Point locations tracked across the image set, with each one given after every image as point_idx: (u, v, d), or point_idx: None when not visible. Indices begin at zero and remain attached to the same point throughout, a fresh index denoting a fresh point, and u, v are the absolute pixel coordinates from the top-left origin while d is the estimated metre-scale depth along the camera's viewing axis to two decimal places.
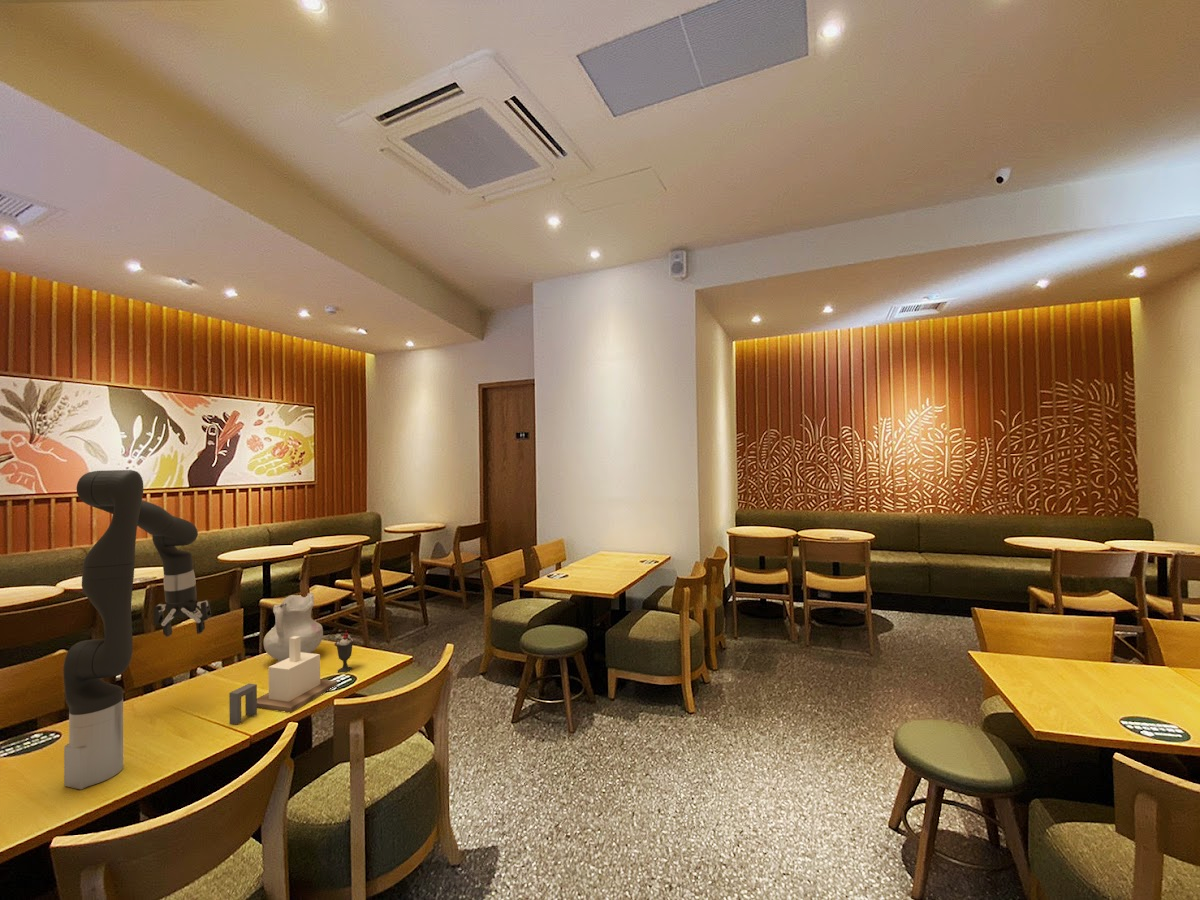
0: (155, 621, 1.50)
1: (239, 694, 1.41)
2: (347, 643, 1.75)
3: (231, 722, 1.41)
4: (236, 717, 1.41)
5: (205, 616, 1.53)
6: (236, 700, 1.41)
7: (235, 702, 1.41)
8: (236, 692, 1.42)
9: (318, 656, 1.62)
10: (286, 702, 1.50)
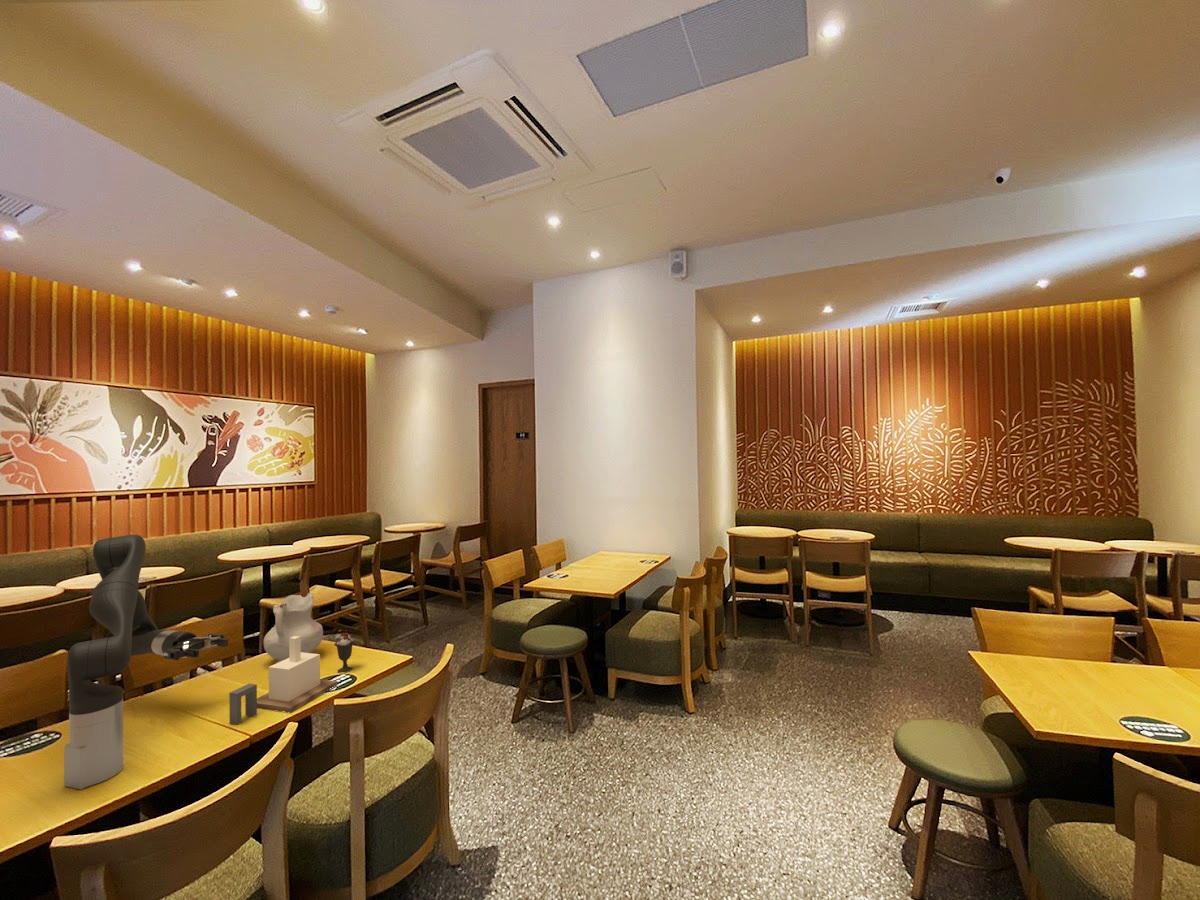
0: (175, 651, 1.42)
1: (239, 694, 1.41)
2: (347, 643, 1.75)
3: (231, 722, 1.41)
4: (236, 717, 1.41)
5: (221, 634, 1.55)
6: (236, 700, 1.41)
7: (235, 702, 1.41)
8: (236, 692, 1.42)
9: (318, 656, 1.62)
10: (286, 702, 1.50)
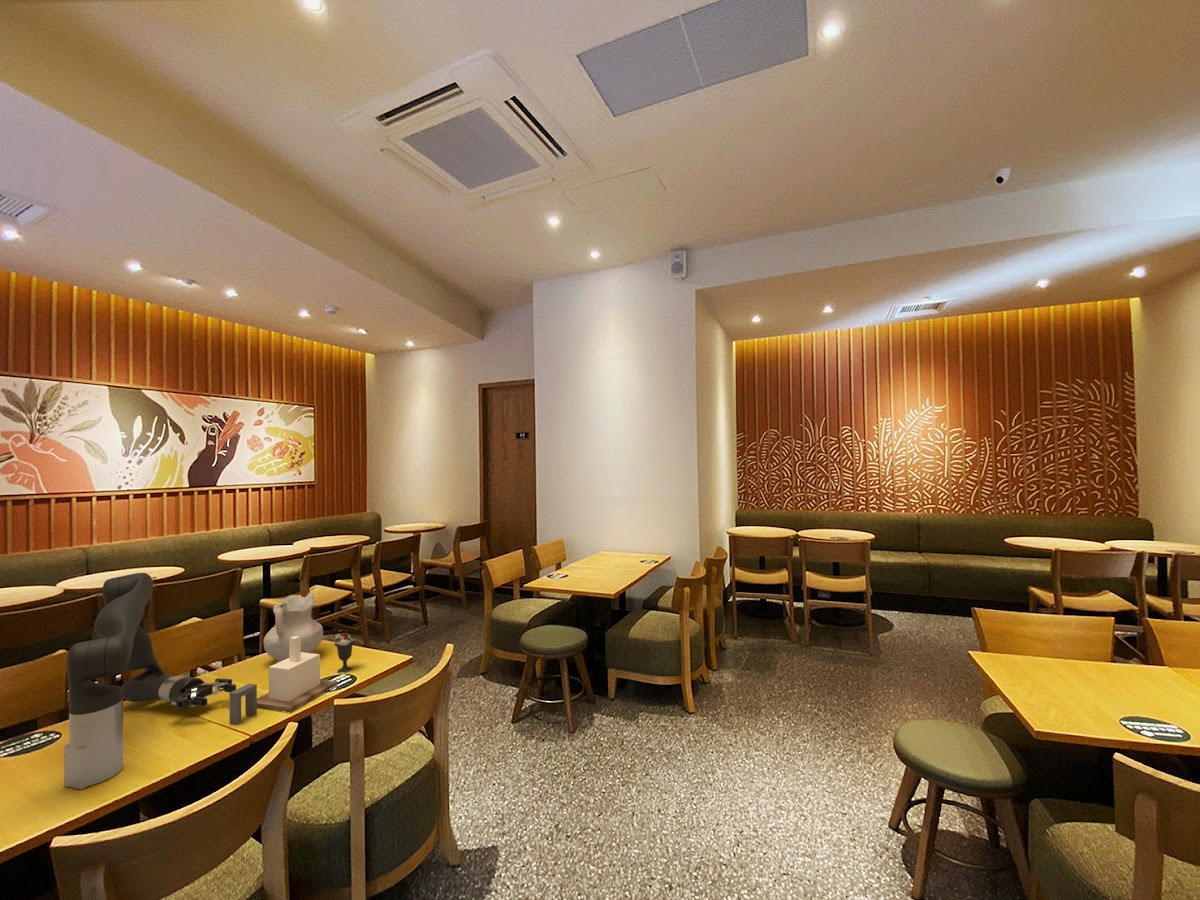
0: (183, 700, 1.41)
1: (239, 694, 1.41)
2: (347, 643, 1.75)
3: (231, 722, 1.41)
4: (236, 717, 1.41)
5: (228, 679, 1.54)
6: (236, 700, 1.41)
7: (235, 702, 1.41)
8: (236, 692, 1.42)
9: (318, 656, 1.62)
10: (286, 702, 1.50)
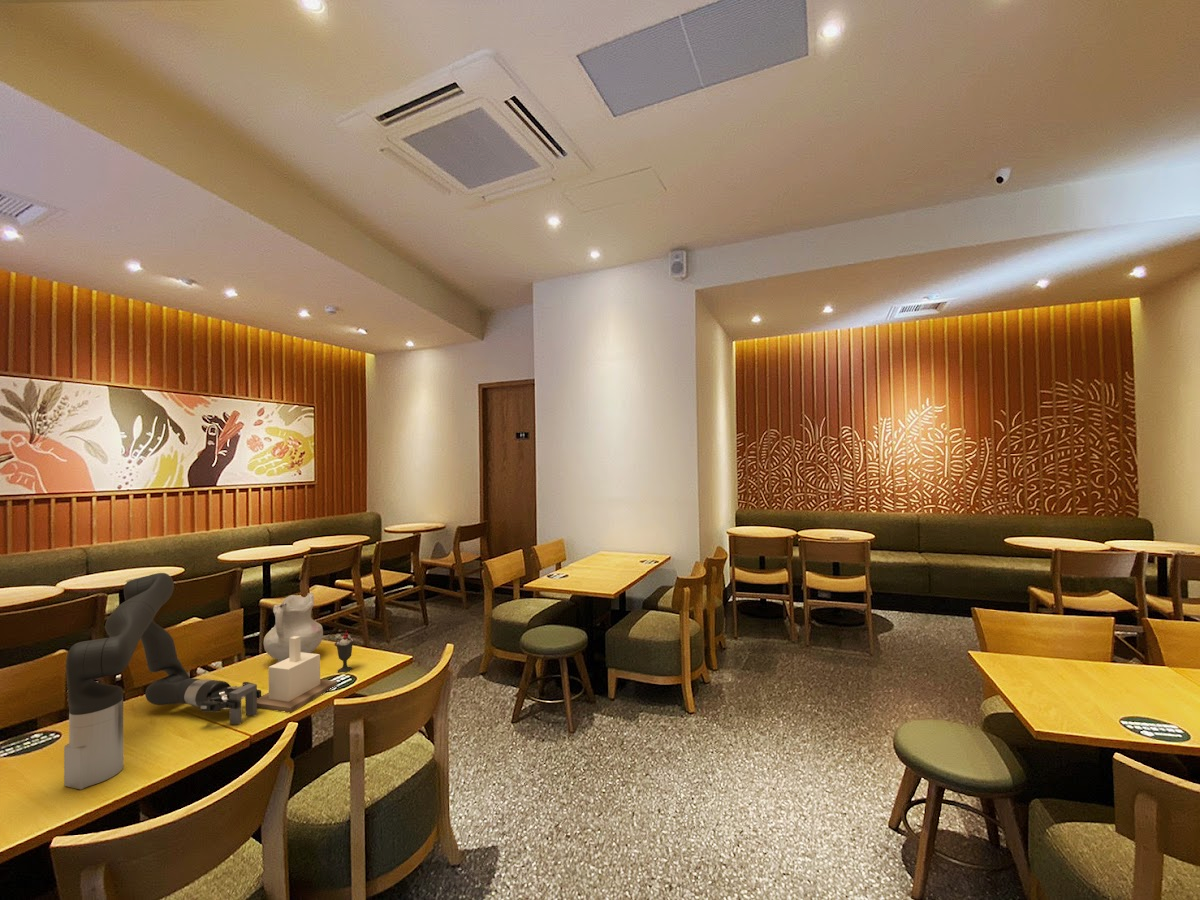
0: (215, 702, 1.39)
1: (239, 694, 1.41)
2: (347, 643, 1.75)
3: (232, 722, 1.41)
4: (236, 717, 1.41)
5: None
6: None
7: None
8: (236, 692, 1.41)
9: (318, 656, 1.62)
10: (286, 702, 1.50)
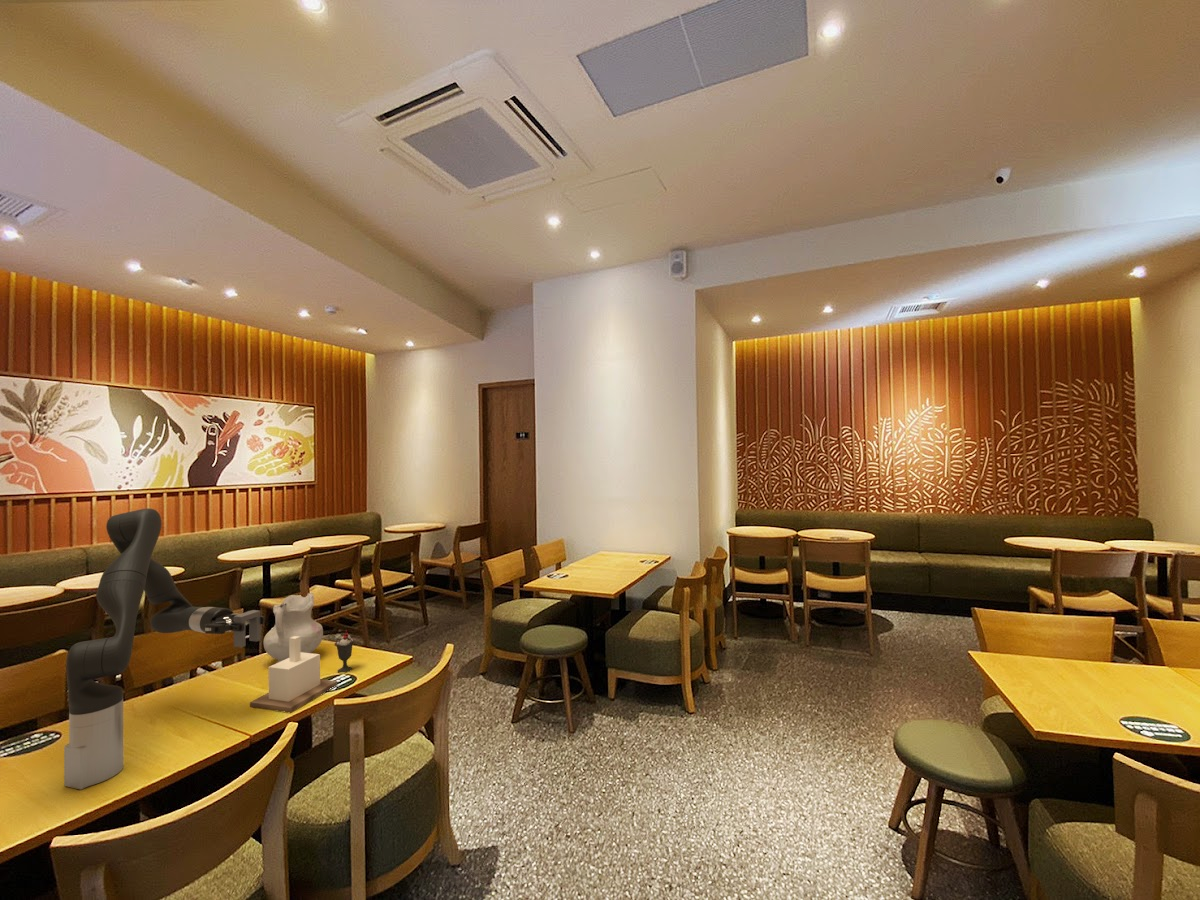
0: (220, 625, 1.41)
1: (243, 617, 1.43)
2: (347, 643, 1.75)
3: (236, 644, 1.43)
4: (240, 640, 1.42)
5: None
6: None
7: None
8: (240, 616, 1.43)
9: (318, 656, 1.62)
10: (286, 702, 1.50)
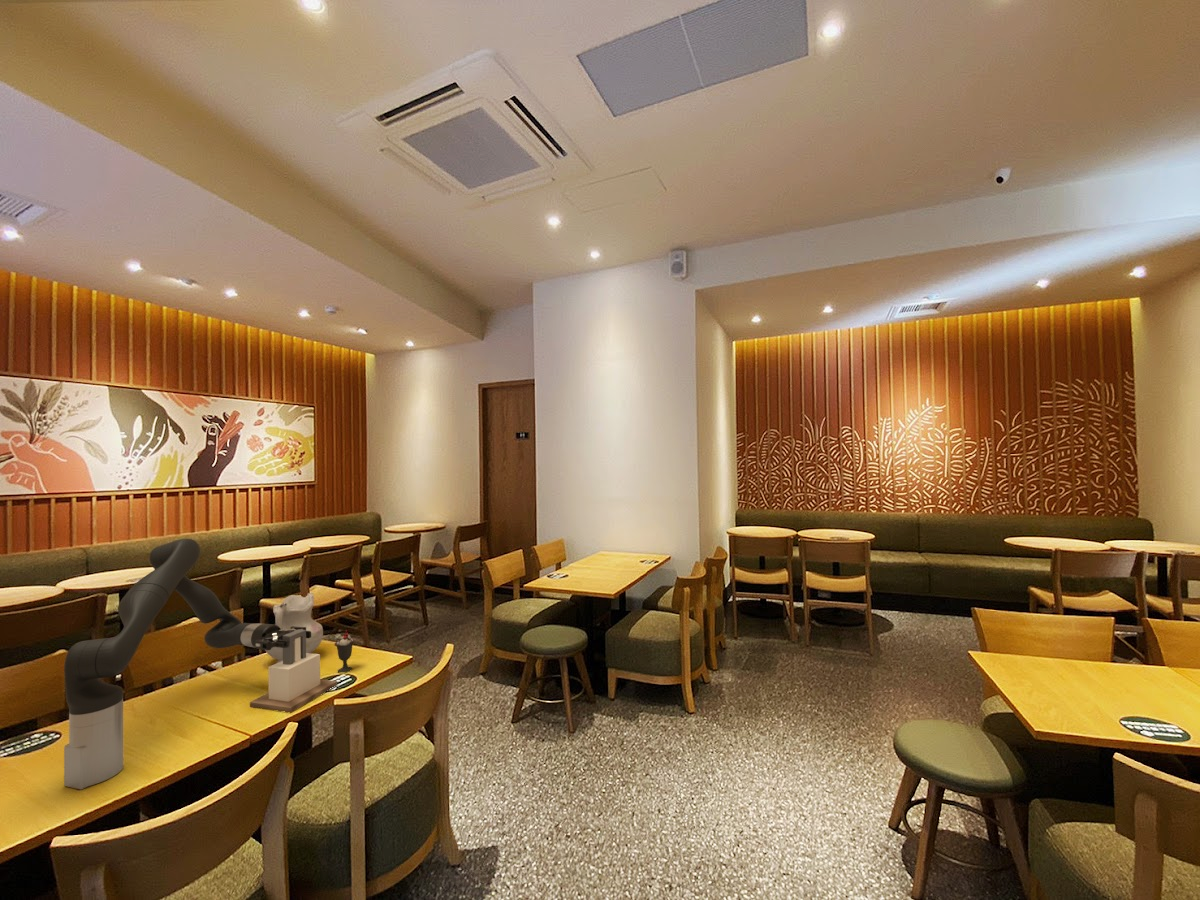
0: (266, 642, 1.52)
1: (291, 637, 1.55)
2: (347, 643, 1.75)
3: (285, 662, 1.55)
4: (289, 658, 1.54)
5: (302, 627, 1.65)
6: (289, 642, 1.55)
7: None
8: (288, 635, 1.55)
9: (318, 656, 1.62)
10: (286, 702, 1.50)
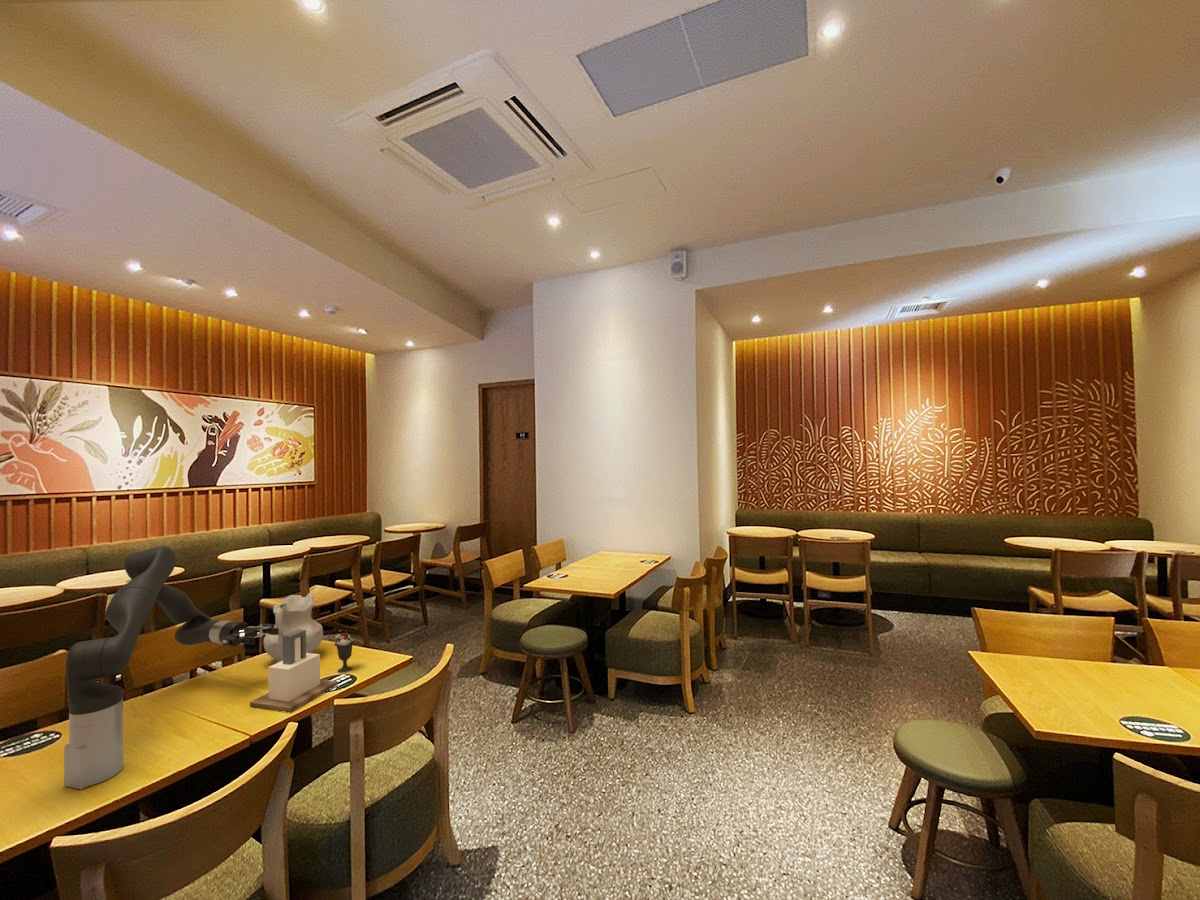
0: (233, 638, 1.56)
1: (291, 637, 1.55)
2: (347, 643, 1.75)
3: (285, 662, 1.55)
4: (289, 658, 1.54)
5: (271, 624, 1.69)
6: (289, 642, 1.55)
7: (288, 644, 1.55)
8: (288, 635, 1.55)
9: (318, 656, 1.62)
10: (286, 702, 1.50)
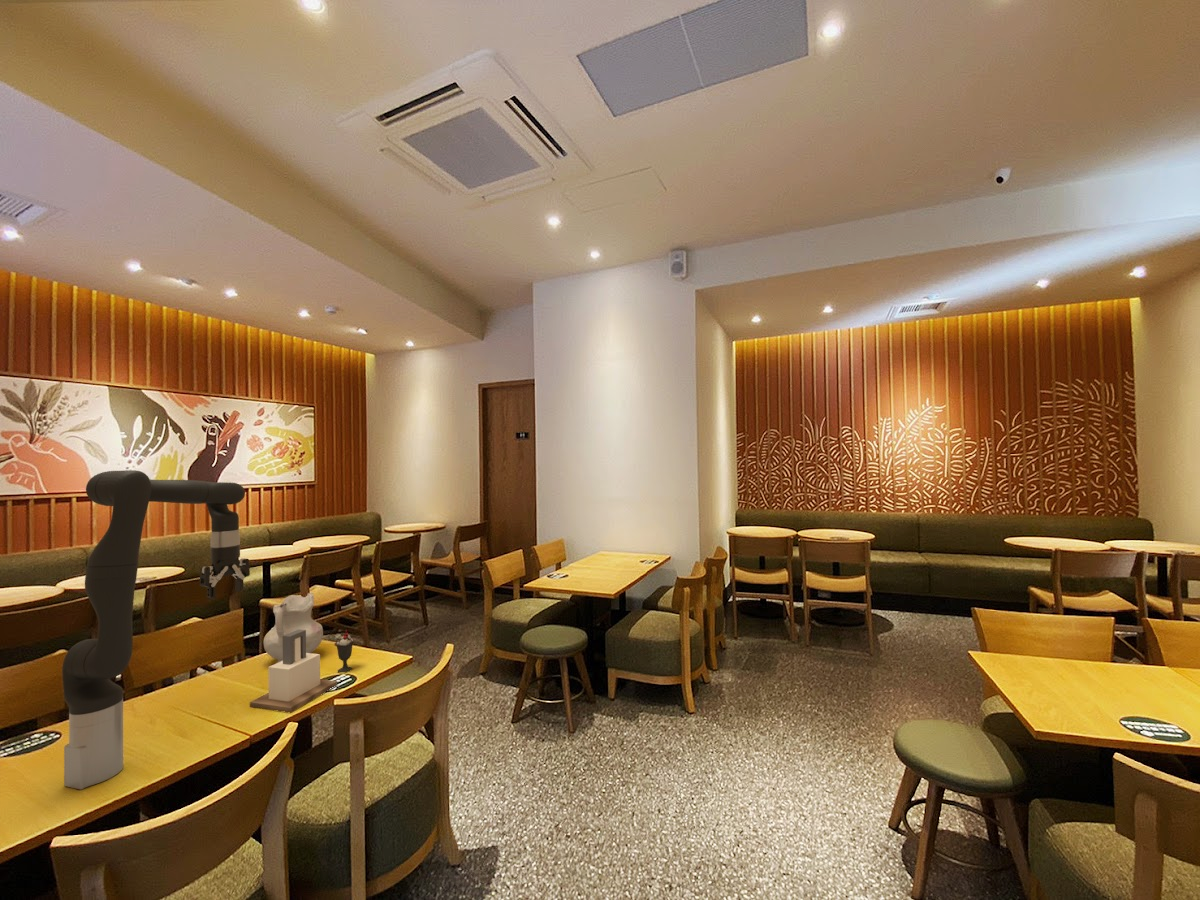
0: (206, 583, 1.49)
1: (291, 637, 1.55)
2: (347, 643, 1.75)
3: (285, 662, 1.55)
4: (289, 658, 1.54)
5: (248, 572, 1.62)
6: (289, 642, 1.55)
7: (288, 644, 1.55)
8: (288, 635, 1.55)
9: (318, 656, 1.62)
10: (286, 702, 1.50)
